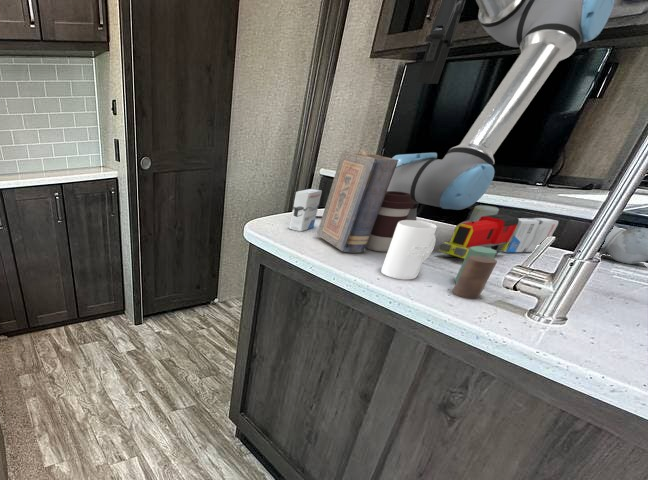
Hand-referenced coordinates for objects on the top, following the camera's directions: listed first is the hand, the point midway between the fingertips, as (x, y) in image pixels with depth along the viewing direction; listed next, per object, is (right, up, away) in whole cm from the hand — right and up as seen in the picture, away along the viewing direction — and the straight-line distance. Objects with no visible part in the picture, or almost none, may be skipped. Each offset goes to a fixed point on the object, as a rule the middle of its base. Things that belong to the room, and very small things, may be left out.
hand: (427, 83), depth 88 cm
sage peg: (+13, -44, +5) cm, 46 cm away
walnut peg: (+9, -47, 0) cm, 48 cm away
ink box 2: (+39, -26, +23) cm, 52 cm away
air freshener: (+37, -25, +33) cm, 55 cm away
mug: (+2, -40, +11) cm, 42 cm away
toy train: (+27, -32, +22) cm, 48 cm away
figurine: (+63, -28, +21) cm, 72 cm away
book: (-5, -26, +31) cm, 41 cm away
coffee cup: (+5, -28, +28) cm, 40 cm away
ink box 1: (-10, -15, +46) cm, 50 cm away
